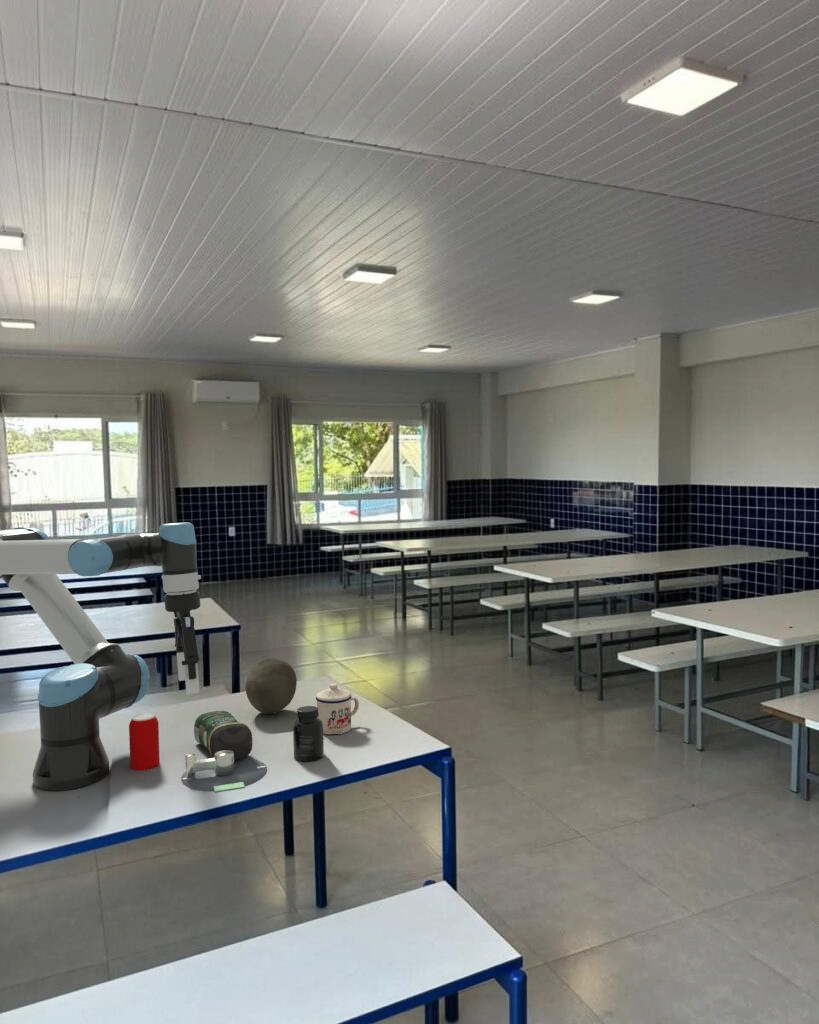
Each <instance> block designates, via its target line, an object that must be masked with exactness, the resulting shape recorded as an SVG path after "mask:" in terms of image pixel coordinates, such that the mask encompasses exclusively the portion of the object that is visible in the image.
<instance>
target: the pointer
mask: <svg viewBox="0 0 819 1024" xmlns="http://www.w3.org/2000/svg"><path fill="white" fill-rule="evenodd" d="M184 757H185V771H186V777H187V778H193V777H195V776H196V772H199V771H205V770H212V769H215V774H216V775H219V776H225V775H230V774H232V773H233V772H234V752H233V751H230V750H223V751H219V752H217V753H215V758H213V757H210V758H203V759H197V760H196V754H195V753H187V754H185V756H184Z"/></svg>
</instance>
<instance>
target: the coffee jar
mask: <svg viewBox="0 0 819 1024" xmlns="http://www.w3.org/2000/svg"><path fill="white" fill-rule="evenodd" d="M193 733H194V734H193V735H194V739H195V741H196V742H197V743H198V744H199V745H201V746H202V747H204V748H205V749H206V750H208V752H209V754H210V756H211V758H215V753H217V752H219V751H223V750H230V751H233V752H234V760H238V759H241V758H247V757H248V756H249V755H250V754H251V752H252V750H253V733H252V730H251V729H250V728H249V726H248V725H247V724H246V723H244V722H240V721H238V720H237V719H236V718H235V717H234V716H233V715H232V713H230V712H229V711H227V710H214V711H209V712H204V713H201V714H200V715H198V717H196V719H195V721H194V725H193Z"/></svg>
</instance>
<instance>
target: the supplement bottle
mask: <svg viewBox="0 0 819 1024" xmlns="http://www.w3.org/2000/svg"><path fill="white" fill-rule="evenodd" d="M318 716H319V714H318V707H317V706H314V705H305V706H300V707H299V708H297V710H296V718H297V720H295V721H294V722H293V725H292V732H293V733H292V737H293V739H292V740H293V759H294V760H295V761H297V762H300V763H313V762H317V761H320V760H322V759H323V758H324V755H325V754H324V753H325V752H324V750H325V749H324V748H325V747H324V744H325V743H324V734H323V722H322V721H321V720H320V719H319V718H318Z"/></svg>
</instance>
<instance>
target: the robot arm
mask: <svg viewBox="0 0 819 1024" xmlns="http://www.w3.org/2000/svg"><path fill="white" fill-rule="evenodd" d="M158 531H159V532H152V533H151V532H150V533H146V532H145V533H143V532H142V533H138V532H136V533H135V532H133V533H127V534H121V535H116V536H112V537H111V536H110V537H101V538H100V537H99V538H97V537H96V538H72V539H70V538H69V539H67V538H65V539H51V538H50V536H49V535H48V534H47V533H45V532H44V531H42V530H40V529H38V528H34V527H22V526H21V527H14V528H11V529H0V579H2V580H3V581H4V583H5V584H6V585H7V587H8V588H9V589H10V590H11V591H12V592H13V591H14V592H20V593H21V594H22V596H23V597H25V598H24V599H26V601H27V602H28V603H29V605H30V606H31V607H32V608H33V611H35V613H36V615H38V617H39V618H40V619H41V621H42V622H43V624H44V625H45V626H46V628H47V629H48V630H49V631H50V633H51V634H52V636H53V637H54V638H55V640H56V641H57V643H59V645H60V646H61V648H62V649H63V650H64V652H65V653H66V655H67V656H68V657H69V658H70V660H71V661H72V662H73V664H72V663H71V664H70V665H64V666H60V667H57V668H55V669H53V670H50V671H48V672H47V673H46V674H44V675H43V676H42V677H41V679H40V680H39V685H38V695H37V701H38V711H39V727H40V730H39V733H40V748H39V751H38V755H37V758H36V761H35V765H34V768H33V771H32V783H33V786H34V787H36V788H37V789H40V790H44V791H65V790H66V791H67V790H73V789H78V788H82V787H85V786H88V785H92V784H94V783H97V782H99V781H100V780H102V779H104V778H106V776H107V775H108V774H109V773H110V761H109V760H110V759H109V757H108V754H107V752H106V749H105V746H104V745H103V742H102V739H101V736H100V719H102V718H104V717H107V716H110V715H111V714H114V713H116V712H119V711H122V710H124V709H127V708H130V707H132V706H133V705H134V704H136V703H139V702H140V701H141V700H143V698H144V697H145V696H146V694H147V693H148V691H149V688H150V679H151V675H150V670H149V667H148V665H147V663H146V662H145V660H144V659H143V658H142V657H141V656H139V655H138V654H132V653H127V654H126V652H125V651H124V650H123V649H122V647H121V646H120V644H118V643H112V642H108V641H107V639H106V638H105V636H104V635H103V633H101V631H100V630H99V628H98V627H97V626H96V624H95V623H94V622H93V621H92V619H91V618H90V616H89V615H88V614H87V612H85V610H84V609H83V607H82V606H81V605H80V603H79V602H78V601H77V600H76V599H75V597H74V596H73V594H72V593H71V592H70V591H69V589H68V588H67V586H66V585H65V584H64V583H63V581H62V579H60V577H59V576H58V575H78V576H80V577H97V576H100V575H103V574H109V573H114V572H120V571H125V570H131V569H132V570H133V569H138V568H142V567H143V568H144V567H161V571H162V574H161V575H162V586H163V587H162V589H163V592H164V593H166V594H165V595H164V609H165V611H166V612H168V613H173V615H174V618H173V624H174V643H175V644H174V646H175V651H176V662H177V677H178V681H179V682H181V681H182V682H183V681H185V682H184V683H185V694H186V695H187V696H189V695H195V694H199V693H200V677H199V665H198V663H199V660H200V658H199V653H198V647H197V646H198V645H197V639H196V638H197V637H196V630H195V618H194V616H192V615H191V611H193V610H198V609H199V608H200V607H201V597H200V592H199V591H198V589H199V587H200V584H199V580H201V579H202V576H201V575H200V574H198V571H199V570H198V562H197V560H198V559H197V557H198V556H197V538H196V534H195V533H196V532H195V527H194V524H193V523H191V522H187V521H186V522H185V521H184V522H173V523H171V522H170V523H163V524H160V525H159V528H158Z"/></svg>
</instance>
